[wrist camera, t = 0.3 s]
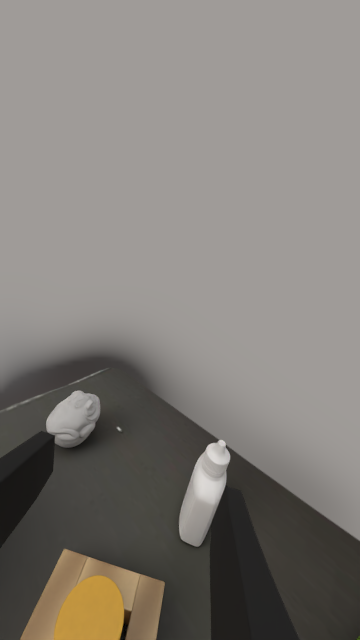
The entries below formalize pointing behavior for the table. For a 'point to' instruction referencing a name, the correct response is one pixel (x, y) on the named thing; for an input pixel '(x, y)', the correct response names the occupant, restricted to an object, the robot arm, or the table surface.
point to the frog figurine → (74, 419)
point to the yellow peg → (91, 611)
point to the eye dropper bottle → (203, 493)
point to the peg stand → (135, 588)
